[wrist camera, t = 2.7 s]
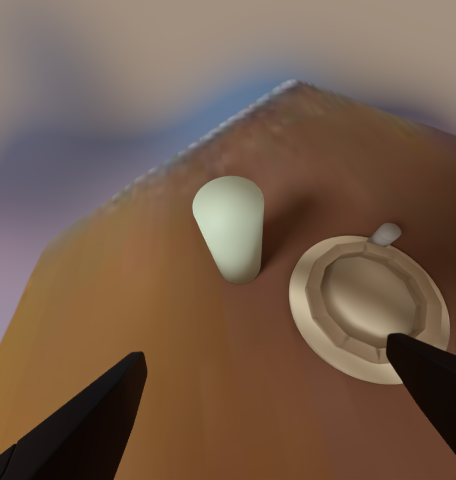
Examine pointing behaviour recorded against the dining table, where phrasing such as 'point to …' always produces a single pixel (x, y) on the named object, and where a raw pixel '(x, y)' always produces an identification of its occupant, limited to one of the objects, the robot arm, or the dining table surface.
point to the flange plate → (364, 303)
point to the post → (232, 226)
